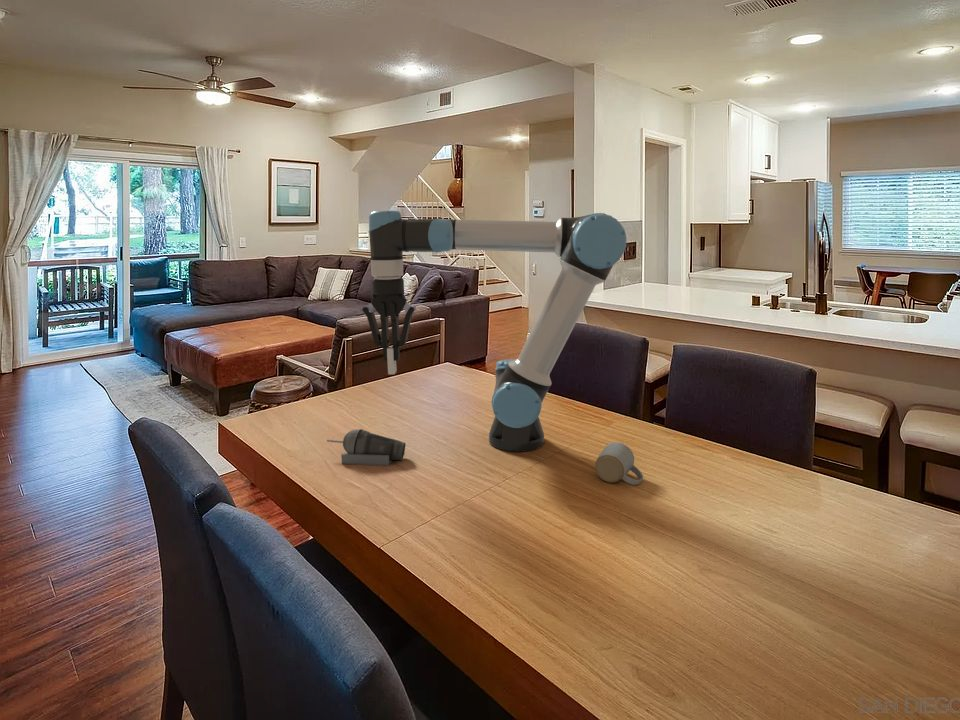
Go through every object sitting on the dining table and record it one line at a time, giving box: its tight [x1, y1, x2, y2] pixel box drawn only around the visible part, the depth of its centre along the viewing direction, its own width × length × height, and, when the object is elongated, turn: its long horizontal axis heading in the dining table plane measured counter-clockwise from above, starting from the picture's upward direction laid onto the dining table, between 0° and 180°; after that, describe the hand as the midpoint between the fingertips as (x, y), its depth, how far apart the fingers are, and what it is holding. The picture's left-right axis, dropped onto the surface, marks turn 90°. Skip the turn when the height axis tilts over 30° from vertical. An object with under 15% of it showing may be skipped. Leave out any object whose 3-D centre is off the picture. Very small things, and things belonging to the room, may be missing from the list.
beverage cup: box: [326, 428, 406, 461], centre depth 149 cm, size 7×7×20 cm
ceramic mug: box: [594, 441, 644, 486], centre depth 137 cm, size 11×8×8 cm
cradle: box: [340, 452, 393, 467], centre depth 151 cm, size 12×11×2 cm
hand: (392, 372), depth 145 cm, fingers closed
